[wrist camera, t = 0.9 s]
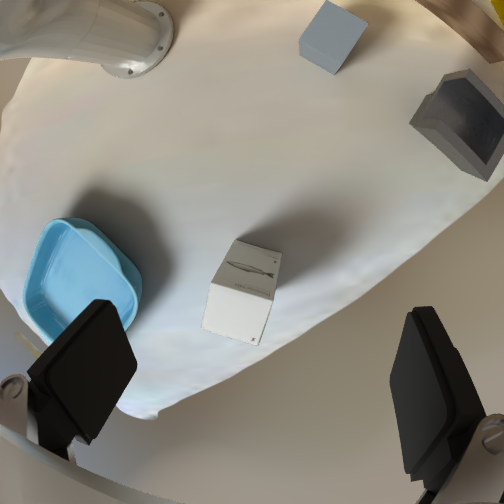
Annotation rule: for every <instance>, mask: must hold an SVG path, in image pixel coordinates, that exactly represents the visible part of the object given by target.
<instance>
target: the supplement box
mask: <svg viewBox="0 0 504 504" xmlns="http://www.w3.org/2000/svg"><path fill="white" fill-rule="evenodd" d="M281 259H282V253H279V252H275V251H271V250H267V249H263V248H260V247H257V246H254V245H250V244H247V243H244V242H241V241H238V240H234V242H233V243H232V245H231V247H230V249H229V251H228V253H227V255H226V256H225V258H224V260H223V262H222V264H221V265H220V267H219V269H218V271H217V272H216V274H215V276H214V278H213V279H212V281H211V284H210V289H209V294H208V298H207V303H206V307H205V311H204V316H203V320H202V325H201V329H203V330H206V331H209V332H213V333H216V334H219V335H222V336H225V337H228V338H231V339H235V340H239V341H242V342H245V343H249V344H252V345H255V346H258V345H259V343H260V340H261V337H262V334H263V331H264V328H265V326H266V323H267V320H268V316H269V313H270V310H271V307H272V303H273V300H274V295H275V290H276V285H277V280H278V274H279V269H280V264H281Z"/></svg>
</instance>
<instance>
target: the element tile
mask: <svg viewBox="0 0 504 504" xmlns="http://www.w3.org/2000/svg"><path fill="white" fill-rule="evenodd" d="M491 3H492V5H493V6H494V8H495V10H496V12H497V13H498V15H499V17H500V19H501V21H502V23H503V25H504V0H491Z"/></svg>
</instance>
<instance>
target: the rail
mask: <svg viewBox="0 0 504 504" xmlns="http://www.w3.org/2000/svg"><path fill="white" fill-rule="evenodd" d="M415 1H417V2H418V3H420V4H421V5H423V6H424V7H425V8H427V9H428V10H429V11H431V12H432V13H433V14H435V15H436V16H437V17H439V18H440V19H441V20H442V21H444V22H445V23H446V24H447V25H449V26H450V27H451V28H452V29H453V30H455V31H456V32H457V33H458V34H459V35H460V36H462V37H463V38H464V39H465V40H466V41H467V42H468V43H469V44H470V45H472V46H473V47H474V48H475V49H476V50H477V51H478V52H479V53H480V54H481V55H482V56H483V57H484V58H485V59H486V60H487V61H488V62H489V63H494V62H499V61H504V32H503V31H502V30H501V29H500V28H499V27H498V25H497V24H496V23H494V22H493V21H492V20H491V19H490V18H489V17H488V16H487V15H486V14H485V13H484V12H483V11H482V10H481V9H480V8H479V7H477V6H476V5H475V4H474V3H473V2H472V1H471V0H415Z"/></svg>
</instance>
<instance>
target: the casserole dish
mask: <svg viewBox="0 0 504 504" xmlns="http://www.w3.org/2000/svg"><path fill="white" fill-rule="evenodd" d="M142 287H143V285H142V278H141V275H140V273H139V271H138V269H137V268H136V266H135V265H134V264H133V263H132V262H131V261H130V260H129V259H128V258H127V257H126V256H125V255H124V254H123V253H122V252H121V251H120V250H119V249H118V248H117V247H116V246H115V245H114V244H113V243H112V242H111V241H110V240H109V239H108V238H107V237H106V236H105V235H104V234H103V233H102V232H101V231H100V230H99V229H98V228H97V227H96V226H94V225H93V224H92V223H90V222H89V221H87V220H84V219H81V218H59V219H54V220H52V221H51V222H49V223H48V224H47V225H46V227H45V228H44V230H43V232H42V234H41V236H40V238H39V241H38V243H37V246H36V249H35V252H34V255H33V258H32V261H31V264H30V267H29V270H28V273H27V277H26V280H25V284H24V289H23V304H24V307H25V310H26V312H27V314H28V316H29V317H30V318H31V320H32V321H33V322H34V324H35V325H36V327H37V328H38V330H39V332H40V333H41V335H42V336H43V337H44V339H45V340H46V341H47V342H48V343H49V344H50V345H51V344H52V343H53V342H54V340H55V339H56V338H57V337H58V336H59V335H60V334H61V333H62V332H63V331H64V330H65V329H66V328H67V327H68V326H69V324H70V323H71V322H72V321H73V320H74V319H75V318H76V317H77V316H78V315H79V314H80V313H81V312H82V311H83V310H84V309H85V308H86V307H87V306H88V305H89V304H90V303H91V302H92V301H93V300H94V299H105V300H110V301H111V302H112V303H113V305H115V306H116V308H117V311H118V314H119V316H120V319H121V322H122V325H123V328H124V330H125V331H126V330H127V329H128V327H129V326H130V325H131V323H132V322H133V320H134V318H135V316H136V314H137V311H138V306H139V303H140V299H141V295H142Z"/></svg>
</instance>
